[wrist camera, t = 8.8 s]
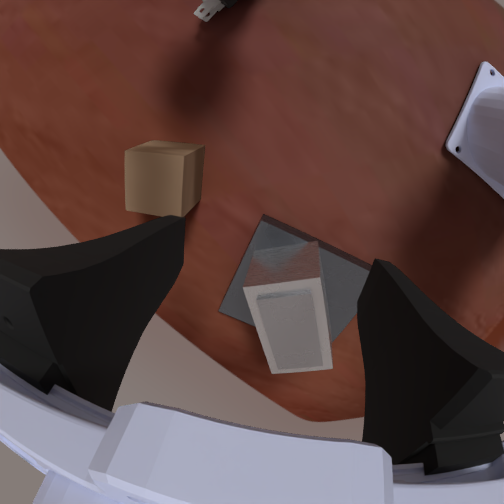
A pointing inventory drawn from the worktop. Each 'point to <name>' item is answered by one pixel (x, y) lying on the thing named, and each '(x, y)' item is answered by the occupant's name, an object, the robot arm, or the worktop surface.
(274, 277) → the block
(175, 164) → the tan cube
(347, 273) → the stand
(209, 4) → the push button
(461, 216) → the worktop surface
